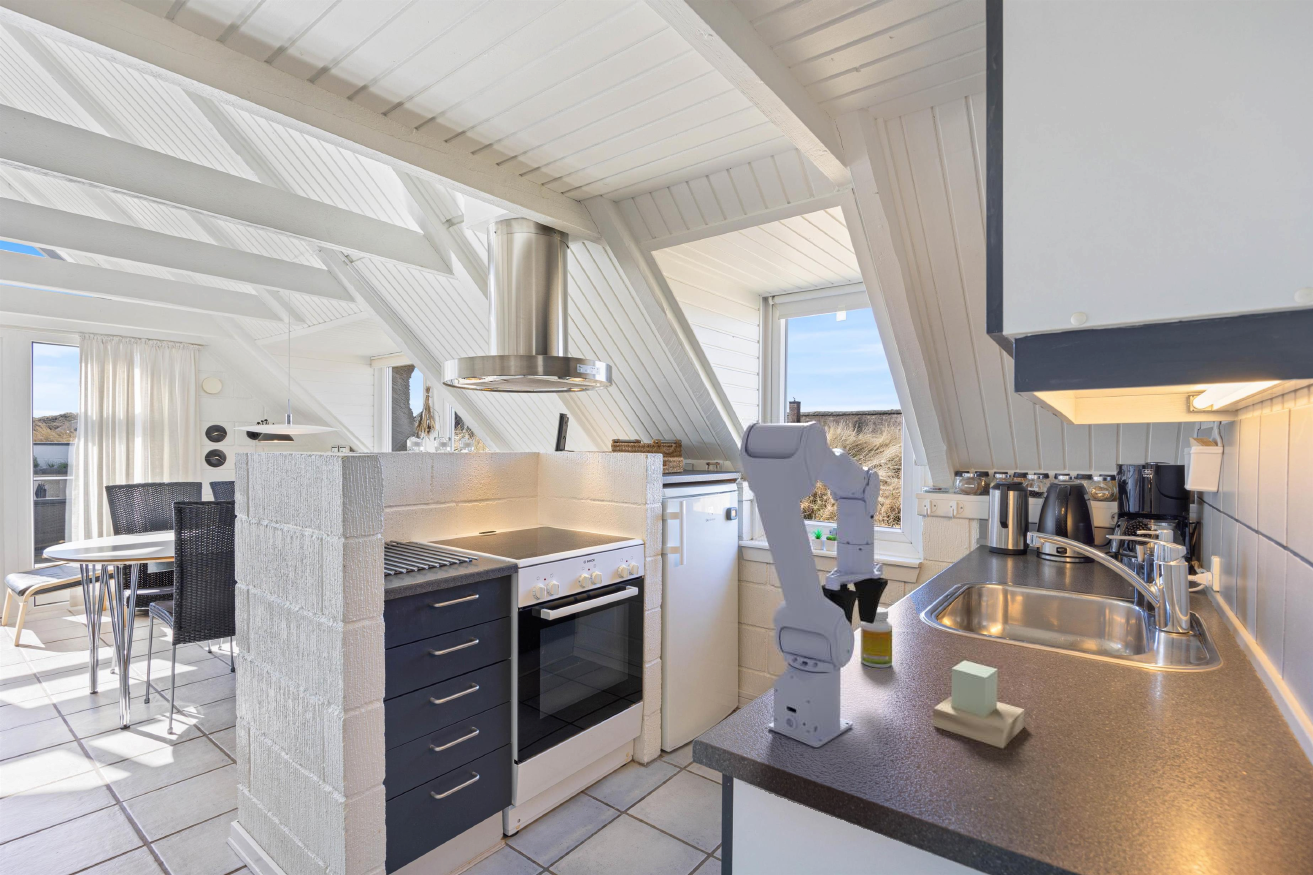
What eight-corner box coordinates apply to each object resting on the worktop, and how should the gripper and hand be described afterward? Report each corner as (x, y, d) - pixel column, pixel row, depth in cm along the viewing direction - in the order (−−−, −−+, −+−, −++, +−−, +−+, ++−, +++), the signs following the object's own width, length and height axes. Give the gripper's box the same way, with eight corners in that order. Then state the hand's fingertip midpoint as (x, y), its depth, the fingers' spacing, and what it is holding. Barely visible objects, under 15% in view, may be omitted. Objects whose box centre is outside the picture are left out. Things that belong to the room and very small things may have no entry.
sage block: (984, 717, 87) (985, 677, 87) (951, 706, 90) (951, 668, 90) (996, 707, 90) (997, 669, 90) (963, 697, 93) (964, 660, 93)
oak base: (1002, 752, 84) (1003, 729, 84) (933, 729, 90) (933, 707, 90) (1024, 730, 90) (1024, 709, 90) (958, 710, 96) (958, 690, 96)
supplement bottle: (896, 668, 112) (896, 613, 112) (865, 668, 112) (866, 613, 112) (886, 657, 117) (886, 605, 117) (856, 657, 118) (857, 605, 117)
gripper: (855, 551, 94) (855, 643, 94) (900, 539, 104) (900, 622, 104) (813, 545, 99) (813, 632, 99) (860, 534, 109) (860, 613, 109)
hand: (855, 627), depth 102 cm, fingers open, 7 cm apart
